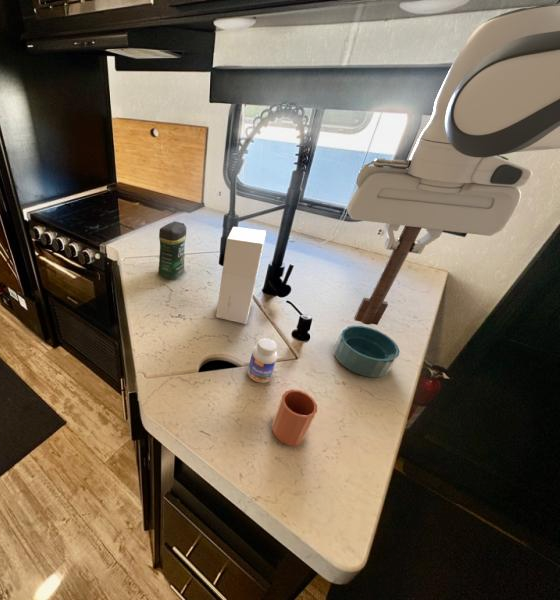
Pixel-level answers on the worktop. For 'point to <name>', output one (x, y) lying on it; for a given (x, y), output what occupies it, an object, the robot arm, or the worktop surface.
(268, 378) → the pill bottle
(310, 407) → the crock
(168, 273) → the coffee jar
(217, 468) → the worktop surface
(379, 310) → the stick
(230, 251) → the tall white carton
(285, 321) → the worktop surface
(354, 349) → the bowl
